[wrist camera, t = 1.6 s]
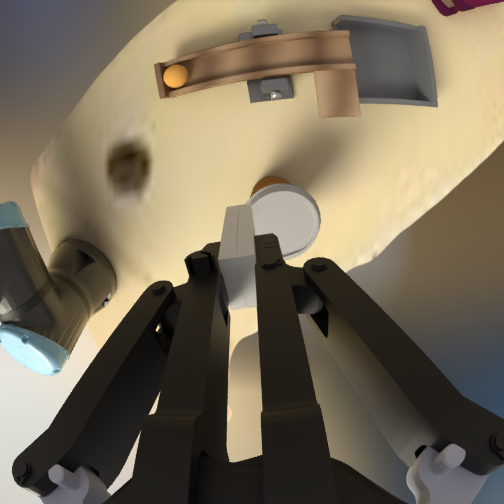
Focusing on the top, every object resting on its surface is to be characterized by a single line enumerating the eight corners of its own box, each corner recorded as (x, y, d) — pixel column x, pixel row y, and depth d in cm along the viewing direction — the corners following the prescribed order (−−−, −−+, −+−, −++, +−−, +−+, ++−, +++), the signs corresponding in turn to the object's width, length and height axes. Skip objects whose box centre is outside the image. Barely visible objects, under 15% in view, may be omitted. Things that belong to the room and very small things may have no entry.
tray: (345, 103, 35) (358, 103, 31) (331, 22, 29) (342, 13, 24) (420, 105, 34) (437, 107, 30) (408, 31, 28) (425, 26, 24)
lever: (180, 137, 36) (168, 141, 33) (166, 66, 30) (153, 64, 28) (359, 116, 29) (364, 117, 27) (346, 35, 24) (350, 28, 21)
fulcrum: (250, 103, 35) (252, 100, 29) (238, 34, 30) (237, 21, 24) (292, 98, 35) (302, 95, 29) (280, 30, 30) (287, 16, 24)
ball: (171, 90, 31) (161, 90, 28) (167, 69, 30) (157, 67, 27) (193, 84, 31) (184, 83, 28) (189, 63, 29) (180, 60, 26)
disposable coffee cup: (236, 220, 44) (234, 258, 33) (246, 161, 39) (247, 180, 29) (295, 229, 45) (311, 268, 34) (308, 172, 40) (332, 195, 30)
